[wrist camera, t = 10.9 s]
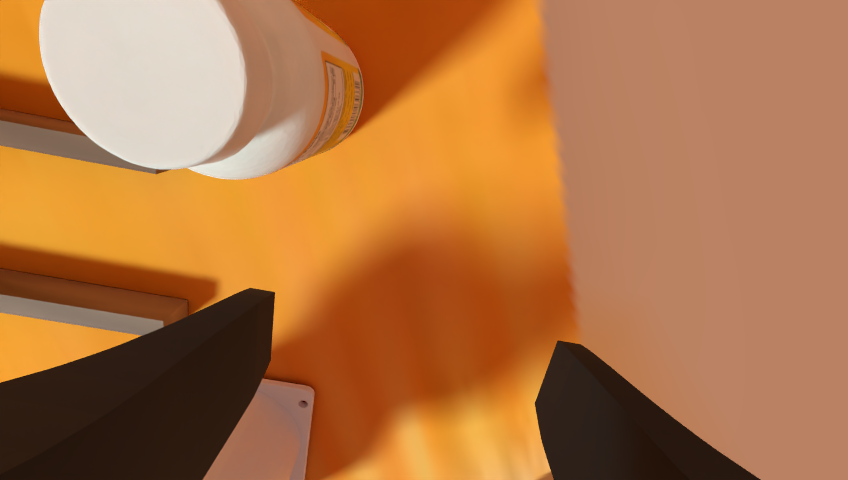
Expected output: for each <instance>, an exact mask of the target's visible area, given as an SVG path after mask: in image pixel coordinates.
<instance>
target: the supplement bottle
mask: <svg viewBox="0 0 848 480" xmlns="http://www.w3.org/2000/svg"><path fill="white" fill-rule="evenodd" d="M39 43H40V51H41V57H42V62H43V66H44V69H45V72H46V75H47V78H48V81H49V83H50V85H51V88H52V90H53V92H54V94H55V96H56V97H57V99H58V101H59V103H60V104H61V106H62V107H63V109H64V110H65V111H66V113H67V114H68V116H69V117H70V118H71V119H72V120H73V122H74V123H75V124H76V125H77V126H78V127H79V128H80V130H81V131H82V132H84V133H85V134H86V135H87V136H88V137H89V138H90V139H91V140H92V141H94V142H95V143H96V144H98V145H99V146H100V147H102V148H103V149H105V150H107V151H108V152H110V153H112V154H114V155H115V156H117V157H119V158H121V159H123V160H125V161H128V162H130V163H133V164H136V165H140V166H143V167H148V168H154V169H159V170H161V169H182V168H188V169H190V170H192V171H195V172H198V173H200V174H203V175H207V176H211V177H215V178H221V179H249V178H255V177H260V176H263V175H267V174H270V173H273V172H276V171H278V170H280V169H283V168H285V167H288V166H290V165H292V164H295V163H298V162H300V161H303V160H305V159H308V158H310V157H313V156H315V155H317V154H321V153H323V152H325V151H327V150H330V149H332V148H334V147H335V146H337V145H338V144H339V143H341V142H342V141H343V140H344V139H345V138H346V137H347V136H348V135H349V134H350V133H351V131H352V130H353V128H354V127H355V125H356V123H357V121H358V119H359V116H360V113H361V110H362V106H363V99H364V85H363V78H362V73H361V70H360V67H359V64H358V62H357V60H356V58H355V56H354V54H353V52H352V51H351V49H350V48H349V46H348V45H347V44H346V43H345V41H344V40H343V39H342V38H341V37H340V36H339V35H338V34H337V33H335V32H334V31H333V30H332V29H331V28H329V27H328V26H327V25H326V24H324V23H323V22H322V21H320V20H319V19H318V18H316V17H315V16H314V15H312V14H311V13H310V12H309V11H307V10H306V9H305V8H303V7H302V6H301V5H299V4H298V3H297V2H296V1H294V0H45V1H44V4H43V6H42V9H41V14H40V25H39Z"/></svg>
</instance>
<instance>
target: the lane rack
mask: <svg viewBox="0 0 848 480" xmlns="http://www.w3.org/2000/svg"><path fill="white" fill-rule="evenodd" d="M0 145H1V146H6V147H12V148H17V149H23V150H28V151H34V152H39V153H45V154H50V155H55V156H61V157H66V158H72V159H77V160H83V161H88V162H93V163H99V164H104V165H110V166H115V167H121V168H126V169H132V170H137V171H142V172H148V173H153V174H158V173H161V172H165V171H168V170H171V169H161V170H159V169H154V168H148V167H143V166H140V165H136V164H133V163H130V162H128V161H125V160H123V159H121V158H119V157H117V156H115V155H114V154H112V153H110V152H108V151H107V150H105V149H103V148H102V147H100V146H99V145H98V144H96V143H95V142H94V141H92V140H91V139H90V138H89V137H88V136H87V135H86V134H85V133H84V132H82V131H81V130H80V128H79V127H78V126H77V125H76V124H75V123H74V122H69V121H63V120H58V119H53V118H48V117H42V116H37V115H32V114H26V113H21V112H16V111H10V110H5V109H0ZM0 313H6V314H13V315H19V316H25V317H31V318H37V319H43V320H50V321H56V322H62V323H68V324H74V325H80V326H87V327H93V328H99V329H105V330H111V331H117V332H124V333H130V334H136V335H142V336H143V335H145V334H148V333H150V332H153V331H155V330H157V329H160V328H162V327H165V326H167V325H169V324H172V323H174V322H176V321H179V320H181V319H183V318H185V317H187V316H188V300H184V299H178V298H173V297H167V296H161V295H155V294H149V293H143V292H137V291H131V290H125V289H119V288H113V287H107V286H101V285H95V284H89V283H83V282H77V281H71V280H65V279H59V278H53V277H47V276H42V275H36V274H30V273H24V272H18V271H12V270H6V269H0Z"/></svg>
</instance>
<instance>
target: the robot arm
mask: <svg viewBox="0 0 848 480" xmlns="http://www.w3.org/2000/svg"><path fill="white" fill-rule="evenodd" d="M274 299H275V292H271V291H265V290H259V289H253V288H249V289H246V290H243V291H241V292H239V293H237V294H234V295H232V296H230V297H228V298H226V299H224V300H221V301H219V302H217V303H215V304H213V305H211V306H209V307H207V308H204V309H202V310H200V311H198V312H196V313H194V314H192V315H189V316H187V317H185V318H183V319H181V320H179V321H176V322H174V323H172V324H169V325H167V326H165V327H162V328H160V329H157V330H155V331H153V332H150V333H148V334H145V335H143V336H141V337H138V338H136V339H133V340H131V341H129V342H126V343H123V344H121V345H118V346H116V347H113V348H110V349H107V350H105V351H102V352H99V353H96V354H93V355H90V356H87V357H85V358H82V359H79V360H76V361H73V362H70V363H67V364H64V365H61V366H57V367H54V368H51V369H48V370H44V371H41V372H37V373H33V374H30V375H26V376H23V377H19V378H16V379H12V380H9V381H5V382H1V383H0V480H305V474H306V465H307V456H308V448H309V439H310V430H311V422H312V413H313V405H314V396H315V393H314V390H313V389H312V388H311V387H309V386H306V385H300V384H294V383H287V382H281V381H275V380H269V379H263V376H264V374H265V372H266V370H267V367H268V365H269V363H270V361H271V345H272V330H273V314H274ZM302 401H306V402H307V403H304V402H302ZM535 407H536V412H537V418H538V424H539V429H540V434H541V439H542V443H543V447H544V450H545V453H546V456H547V460H548V463H549V466H550V469H551V472H552V475H553V478H554V480H760V479H759V478H757V477H756V476H754V475H753V474H751V473H750V472H748V471H747V470H745V469H744V468H742V467H741V466H739V465H738V464H736V463H735V462H733V461H732V460H730V459H729V458H728V457H726V456H725V455H723V454H722V453H720V452H719V451H717V450H716V449H714V448H713V447H712V446H710V445H709V444H707V443H706V442H705V441H703V440H702V439H700V438H699V437H698V436H696V435H695V434H694V433H693V432H691V431H690V430H689V429H687V428H686V427H685V426H683V425H682V424H681V423H679V422H678V421H677V420H675V419H674V418H673V417H671V416H670V415H669V414H668V413H666V412H665V411H664V410H663V409H661V408H660V407H659V406H657V405H656V404H655V403H654V402H652V401H651V400H650V399H649V398H648V397H646V396H645V395H644V394H643V393H641V392H640V391H639V390H638V389H637V388H635V387H634V386H633V385H632V384H630V383H629V382H628V381H627V380H626V379H624V378H623V377H622V376H621V375H620V374H618V373H617V372H616V371H615V370H614V369H612V368H611V367H610V366H609V365H607V364H606V363H605V362H604V361H602V360H601V359H600V358H599V357H597V356H596V355H595V354H594V353H592V352H591V351H590V350H588V349H587V348H585V347H584V346H582V345H581V344H575V343H569V342H563V341H557V344H556V347H555V349H554V352H553V355H552V358H551V360H550V363H549V366H548V369H547V371H546V374H545V377H544V380H543V383H542V385H541V388H540V391H539V394H538V396H537V399H536V402H535Z"/></svg>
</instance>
